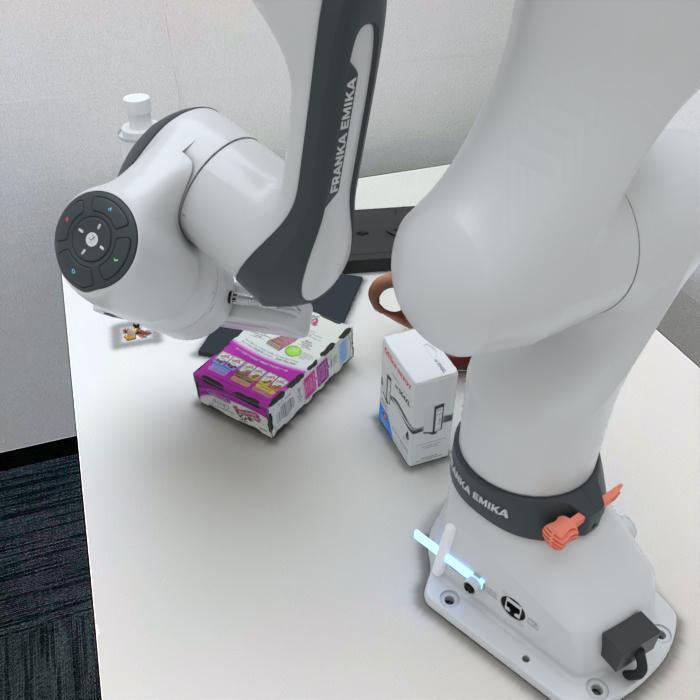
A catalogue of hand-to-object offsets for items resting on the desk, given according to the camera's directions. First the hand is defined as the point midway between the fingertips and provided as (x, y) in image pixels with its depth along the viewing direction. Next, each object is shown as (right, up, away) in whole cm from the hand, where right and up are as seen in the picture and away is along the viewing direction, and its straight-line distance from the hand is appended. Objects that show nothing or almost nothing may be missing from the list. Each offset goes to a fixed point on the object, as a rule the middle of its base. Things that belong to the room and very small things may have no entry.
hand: (234, 318), depth 80 cm
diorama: (-15, -1, +16) cm, 22 cm away
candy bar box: (-1, -10, +1) cm, 10 cm away
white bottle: (-16, +12, +33) cm, 39 cm away
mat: (+4, +1, +19) cm, 20 cm away
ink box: (+20, -13, +1) cm, 24 cm away
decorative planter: (+25, -4, +13) cm, 28 cm away
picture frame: (+21, +13, +35) cm, 43 cm away
